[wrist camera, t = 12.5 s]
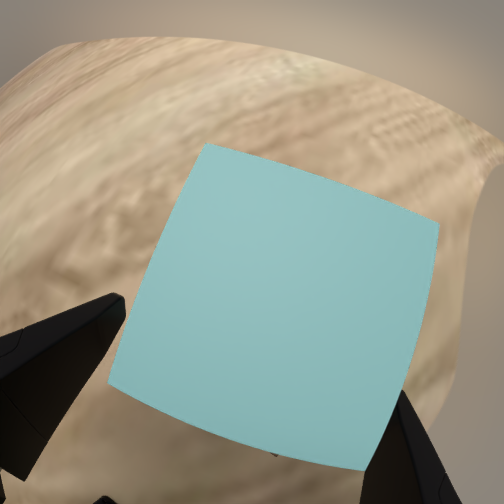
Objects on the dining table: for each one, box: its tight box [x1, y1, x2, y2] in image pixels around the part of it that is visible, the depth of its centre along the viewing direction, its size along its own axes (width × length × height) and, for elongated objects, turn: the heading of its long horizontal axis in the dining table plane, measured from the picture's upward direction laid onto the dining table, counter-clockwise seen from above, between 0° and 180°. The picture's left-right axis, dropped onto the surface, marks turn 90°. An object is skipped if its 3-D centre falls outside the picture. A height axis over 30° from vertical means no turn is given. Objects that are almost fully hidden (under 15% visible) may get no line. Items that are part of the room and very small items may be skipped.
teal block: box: [107, 143, 440, 471], centre depth 11 cm, size 5×5×12 cm
